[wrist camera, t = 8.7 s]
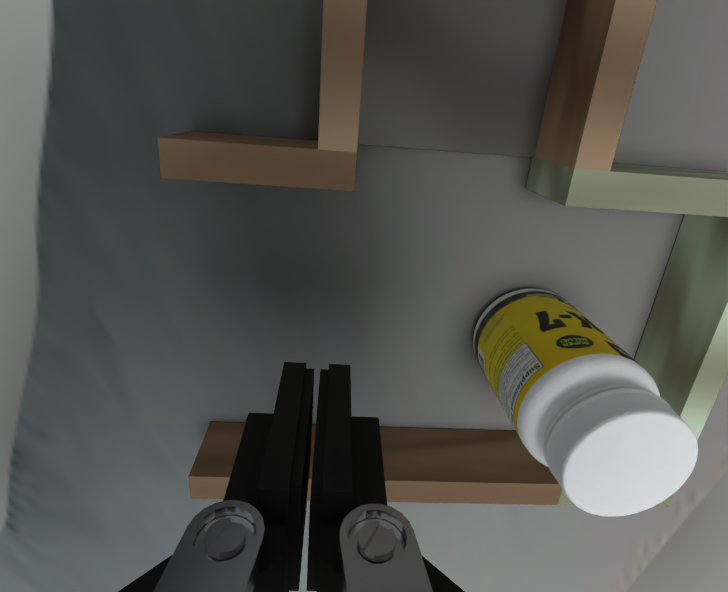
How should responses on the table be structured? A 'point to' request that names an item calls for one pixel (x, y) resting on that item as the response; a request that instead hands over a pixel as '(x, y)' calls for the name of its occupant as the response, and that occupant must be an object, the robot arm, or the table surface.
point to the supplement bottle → (582, 405)
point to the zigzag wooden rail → (546, 177)
